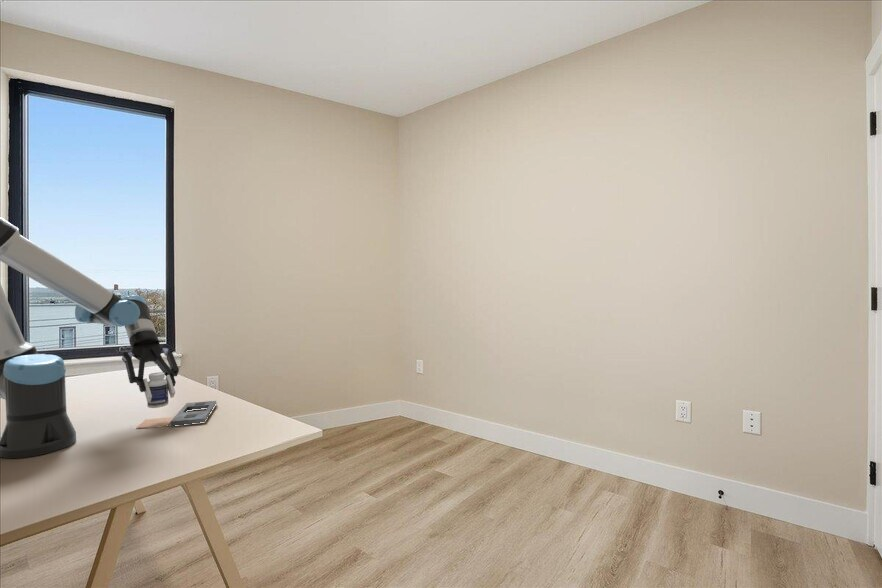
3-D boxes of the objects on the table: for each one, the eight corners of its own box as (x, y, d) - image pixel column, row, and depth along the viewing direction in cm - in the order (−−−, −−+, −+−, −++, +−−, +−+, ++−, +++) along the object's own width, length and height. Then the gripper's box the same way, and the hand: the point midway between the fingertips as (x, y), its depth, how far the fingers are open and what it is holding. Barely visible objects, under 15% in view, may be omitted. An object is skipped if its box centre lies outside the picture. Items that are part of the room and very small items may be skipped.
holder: (204, 423, 136) (204, 418, 136) (170, 426, 133) (170, 421, 133) (216, 405, 155) (216, 400, 155) (186, 407, 152) (186, 402, 152)
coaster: (167, 426, 134) (167, 424, 134) (136, 429, 132) (136, 427, 132) (174, 418, 142) (174, 416, 142) (145, 420, 139) (145, 419, 139)
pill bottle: (171, 405, 137) (169, 373, 137) (150, 409, 133) (149, 376, 133) (165, 402, 141) (163, 370, 140) (145, 406, 137) (143, 373, 136)
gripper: (172, 340, 153) (192, 397, 143) (106, 348, 140) (122, 411, 129) (177, 326, 149) (198, 383, 139) (109, 332, 136) (126, 396, 126)
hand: (161, 397), depth 134 cm, fingers closed on pill bottle, 5 cm apart
